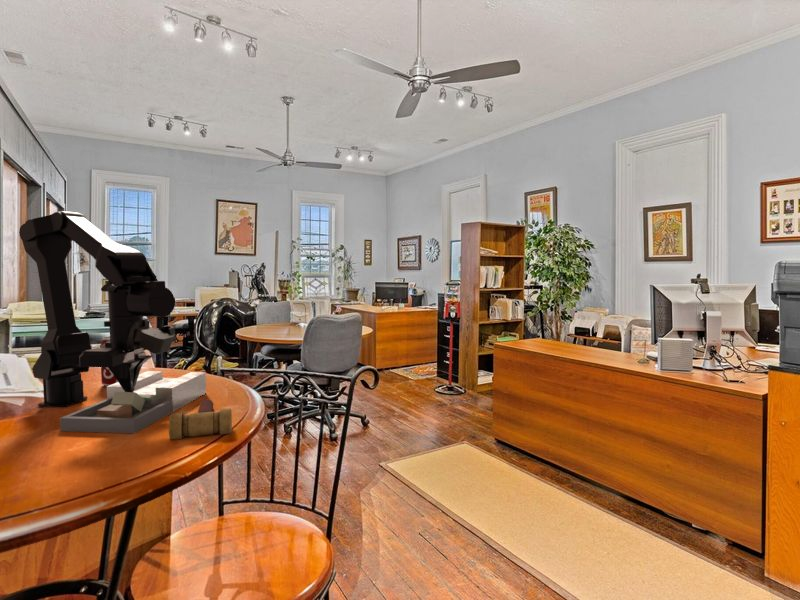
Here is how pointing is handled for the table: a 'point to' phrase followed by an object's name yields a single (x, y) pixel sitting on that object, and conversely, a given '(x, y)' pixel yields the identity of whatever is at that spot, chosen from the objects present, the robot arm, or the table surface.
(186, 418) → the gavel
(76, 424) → the tray
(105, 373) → the soda can
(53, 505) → the table surface
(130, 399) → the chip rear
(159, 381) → the slot block
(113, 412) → the brown block
